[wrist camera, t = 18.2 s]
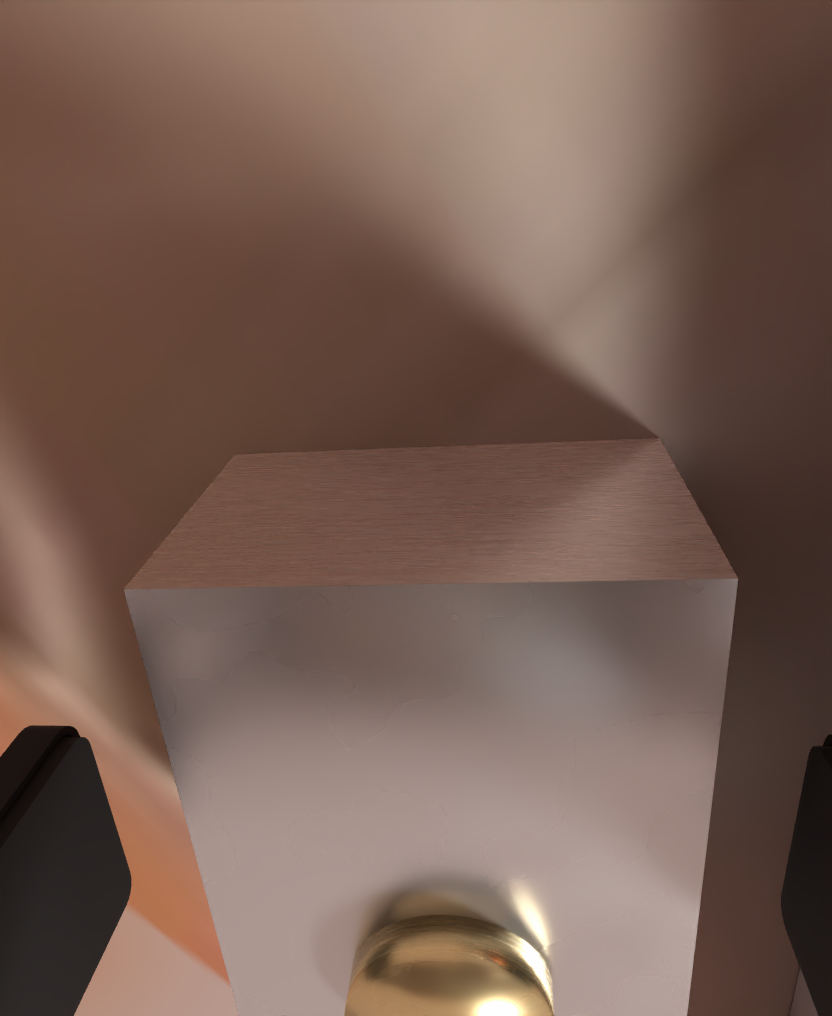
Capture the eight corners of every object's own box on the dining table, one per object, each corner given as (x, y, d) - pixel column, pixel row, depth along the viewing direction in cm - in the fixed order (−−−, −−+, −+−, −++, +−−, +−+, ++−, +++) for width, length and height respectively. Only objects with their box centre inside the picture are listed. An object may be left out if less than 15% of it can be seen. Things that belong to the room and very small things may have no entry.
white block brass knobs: (239, 448, 11) (96, 622, 7) (655, 432, 11) (757, 614, 7) (310, 839, 15) (239, 1110, 11) (631, 845, 14) (689, 1137, 10)
